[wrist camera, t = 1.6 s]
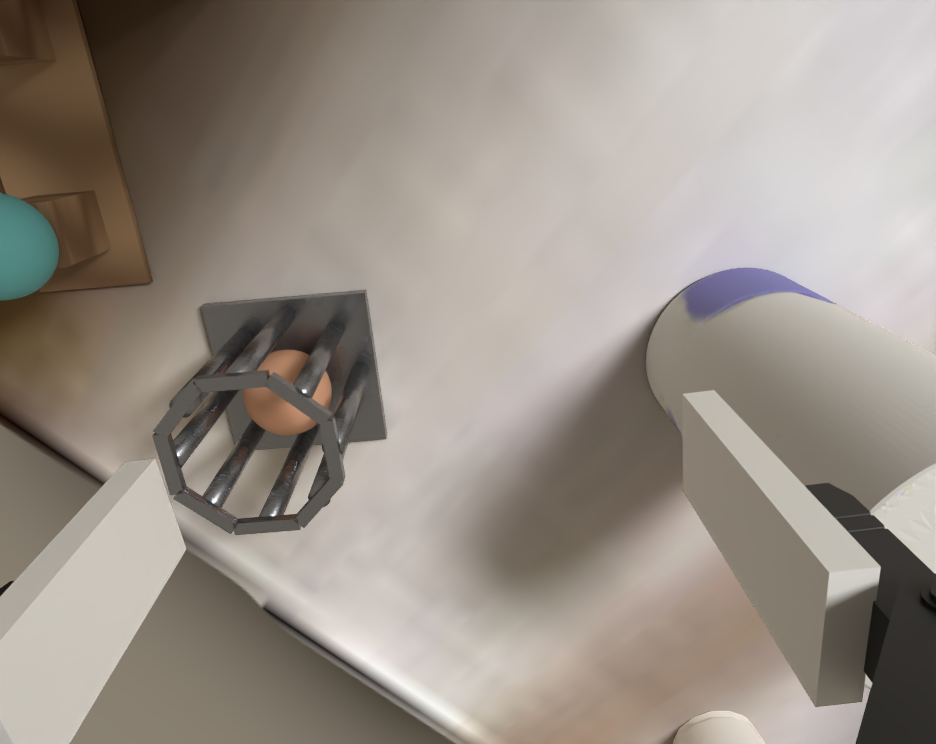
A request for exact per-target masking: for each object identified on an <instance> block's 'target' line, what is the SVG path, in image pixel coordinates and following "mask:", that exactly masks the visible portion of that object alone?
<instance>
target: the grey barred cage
mask: <svg viewBox="0 0 936 744" xmlns="http://www.w3.org/2000/svg"><path fill="white" fill-rule="evenodd" d="M201 310H202V314H203V318H204V322H205V326H206V330H207V334H208V338H209V342H210V346H211V350H212V355H213V357H212V358H211V359H210V360H209V361H208V362H207V363H206V364H205V365H204V366H203V367H202V368H201V369H200V370H199V371H198V372H197V374H196V375H195V376H194V377H193V378H192V379H191V380H190V381H189V382H188V383H187V384H186V385H185V386H184V387H183V388H182V389H181V390H180V391H179V392H178V393H177V394H176V395H175V396H174V398H173V399H172V400H171V401H170V404H169V407H170V409H169V411H168V412H167V413H166V415H165V416H164V417H163V419H162V420H161V421H160V423H159V424H158V426H157V427H156V428H155V430H154V431H153V432H155V433H154V434H153V439H154V442H155V446H156V449H157V452H158V456H159V459H160V462H161V466H162V469H163V472H164V476H165V479H166V482H167V486H168V489H169V492H170V495H175V497H174V498H173V499H175V500H176V501H178V502H180V503H181V504H183V505H184V506H186V507H188V508H189V509H191V510H193V511H194V512H196V513H197V514H199V515H201V516H202V517H204V518H206V519H207V520H209V521H210V522H212V523H214V524H215V525H217V526H219V527H220V528H222V529H223V530H225V531H227V532H228V533H230V534H231V533H232V532H233V531H234V532H235V535H242V534H255V533H267V532H279V531H292V530H300V528H301V526H302V527H303V528H304V527H305V526H306V525H307V524H308V523H309V522H310V521H311V520H312V518H313V517H314V516H315V515H316V514H317V513H318V512H319V511H320V510H321V508H322V507H325V506H327V505H328V504H329V502H330V499H331V497H332V496H333V495H334V494H335V493H336V492H337V491H338V489H339V488H340V487H341V486H342V485H343V482H344V479H345V472H344V466H343V458H344V455H345V451H346V448H347V445H348V442H356V441H369V440H381V439H386V438H387V429H386V423H385V416H384V409H383V402H382V395H381V388H380V381H379V374H378V368H377V361H376V354H375V347H374V340H373V333H372V326H371V320H370V313H369V306H368V299H367V292H366V290H361V291H349V292H337V293H325V294H314V295H302V296H290V297H279V298H267V299H255V300H244V301H232V302H220V303H208V304H204V305H203V306H201ZM279 350H297V351H301V352H304V353H306V354H308V355H309V357H308V359H307V361H306V362H305V364H304V366H303V368H302V369H301V371H300V373H299V375H298V376H297V378H296V380H295V381H294V383H293V385H292V384H291V383H290V382H288V381H287V380H285V379H284V378H282V377H281V376H280V375H278V374H277V373H275V372H273V373H272V374H271V375H270V374H269V370H263V371H257V370H258V368H259V367H260V365H261V364H262V363H263V361H264V360H265V359H266V357H267V356H268V355H269V353H272V352H275V351H279ZM325 370H326V372H327V374H328V376H329V379H330V382H331V388H332V397H331V402H330V405H329V408H328V409H326V408H325V407H324V406H322V405H321V404H319V403H318V402H316V401H315V400H314V399H312V397H313V395H314V393H315V391H316V389H317V387H318V385H319V383H320V381H321V379H322V376H323V374H324V372H325ZM261 387H266V388H268V389H269V390H271V391H272V392H274V393H275V394H277V395H278V396H279V397H281V398H282V399H284V400H285V401H287V402H288V403H289V404H291V405H292V406H294V407H295V408H297V409H298V410H300V411H301V412H302V413H304V414H305V415H307V416H308V417H310V418H311V419H312V420H314V421H315V422H317V423H318V424H316V425H315V426H314V427H313V428H311V429H309V430H307V431H305V432H303V433H299V434H295V435H279V434H274V433H271V432H269V431H267V430H265V429H263V428H262V427H260V426H259V425H258V424H257V423H256V422H254V420H253V419H252V418H251V417H250V415H249V413H248V412H247V409H246V407H245V404H244V399H243V389H249V388H261ZM213 391H215V392H214V393H213V394H212V395H211V396H210V398H209V399H208V400H207V401H206V402H205V404H204V405H203V406H202V407H201V408H200V410H199V411H198V412H197V413H196V414H195V416H194V417H193V418H192V419H191V420H190V422H189V423H188V424H187V425H186V426H185V428H184V429H183V430H182V431H181V432H180V433H179V435H178V436H177V437H176V438H175V439H174V441H173V438H172V435H171V432H172V431H173V429H174V428H175V427H176V425H177V424H178V423H179V421H180V420H181V419H182V417H188V416H190V415H191V414H192V413H193V411H194V410H195V409H196V408H197V407H198V405H199V404H200V403H201V402H202V401H203V400H204V398H205V397H206V396H207V395H208V394H209V393H210V392H213ZM225 409H226V411H227V415H228V419H229V423H230V427H231V431H232V435H233V439H234V443H235V447H234V448H233V450H232V451H231V453H230V454H229V456H228V457H227V459H226V461H225V462H224V464H223V465H222V467H221V468H220V470H219V471H218V473H217V475H216V476H215V478H214V479H213V481H212V482H211V484H210V486H209V487H208V489H207V490H206V492H205V493H204V495H203V496H201V495H199V494H197V493H196V492H194V491H193V490H191V489H190V488H188V487H186V484H185V480H184V477H183V473H182V470H181V467H182V466H183V465H184V463H185V462H186V461H187V459H188V458H189V457H190V455H191V454H192V453H193V451H194V450H195V449H196V448H197V446H198V445H199V444H200V442H201V441H202V440H203V438H204V437H205V436H206V434H207V433H208V432H209V430H210V429H211V428H212V426H213V425H214V424H215V422H216V421H217V420H218V418H219V417H220V416H221V414H222V413H223V412H224V410H225ZM320 444H322V450H323V452H324V455H323V458H322V461H321V463H320V466H319V469H318V471H317V474H316V477H315V479H314V482H313V485H312V487H311V490H310V493H309V496H308V499H309V501H308V502H307V503H306V504H305V505H304V506H303V508H302V509H301V510H300V511H299V512H298V513H297V514H291V515H284V512H285V510H286V507H287V505H288V503H289V500H290V498H291V495H292V493H293V491H294V488H295V486H296V483H297V481H298V479H299V476H300V474H301V471H302V469H303V467H304V464H305V462H306V459H307V457H308V455H309V452H310V450H311V447H312V445H320ZM284 447H292V448H291V450H290V452H289V454H288V456H287V458H286V461H285V463H284V465H283V467H282V469H281V471H280V473H279V475H278V477H277V480H276V482H275V484H274V486H273V488H272V490H271V492H270V494H269V496H268V499H267V501H266V503H265V505H264V507H263V509H262V511H261V513H260V515H259V517H254V518H242V519H237V518H236V517H234V516H233V515H231V514H229V513H228V512H226V511H225V510H223V509H221V508H222V506H223V504H224V503H225V501H226V499H227V497H228V496H229V494H230V492H231V490H232V489H233V487H234V485H235V483H236V482H237V480H238V478H239V477H240V475H241V473H242V471H243V470H244V468H245V466H246V464H247V463H248V461H249V459H250V457H251V456H252V454H253V452H254V451H255V450H259V449H272V448H284Z"/></svg>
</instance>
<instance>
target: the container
mask: <svg viewBox="0 0 936 744" xmlns="http://www.w3.org/2000/svg"><path fill="white" fill-rule="evenodd" d="M646 371H647V377H648V381H649V384H650V387H651V390H652V392H653V394H654V396H655V397H656V399H657V400H658V402H659V403H660V405H661V406H662V408H663V409H664V411H665V412H666V413H667V415H668V416H669V418H670V419H671V421H672V422H673V424H674V425H675V427H676V428H677V429H678V431H679V432H680V434H681V435H682V437H683V394H686V393H694V392H702V391H710V390H715V392H716V393H717V394H718V395H719V396H720V397H721V398H722V399H723V400H724V401H725V402H726V403H727V404H728V405H729V406H730V407H731V408H732V410H733V411H734V412H735V413H736V414H737V415H738V416H739V417H740V418H741V419H742V420H743V421H744V422H745V423H746V424H747V425H748V427H749V428H750V429H751V430H752V431H753V432H754V433H755V434H756V435H757V436H758V437H759V438H760V439H761V440H762V441H763V442H764V443H765V445H766V446H767V447H768V448H769V449H770V450H771V451H772V452H773V453H774V454H775V455H776V456H777V457H778V458H779V459H780V460H781V461H782V463H783V464H784V465H785V466H786V467H787V468H788V469H789V470H790V471H791V472H792V473H793V474H794V475H795V476H796V477H797V478H798V479H799V481H800V482H801V483H802V484H803V485H804V486H805V485H813V484H821V483H830V484H832V485H834V486H836V487H837V488H839V489H841V490H843V491H845V492H847V493H849V494H851V495H853V496H854V497H855V498H856V499H857V500H858V501H859V502H860V503H862V504H863V505H864V506H865V507H866V508H867V509H868V510H869V511H870V514H871V515H874V516H875V517H876V518H877V519H878V520H879V521H880V522H881V523H882V524H883V525H884V527H885V529H889V530H890V531H891V532H892V533H893V534H894V535H895V536H896V537H897V538H898V539H899V540H900V541H901V542H902V543H903V544H904V545H905V546H907V547H908V548H909V549H910V550H911V551H912V552H913V553H914V554H915V555H916V556H917V557H918V558H919V559H920V560H921V561H922V562H923V563H924V564H925V565H926V566H927V567H928V568H930V569H931V570H932V571H933V572H934V573H935V574H936V355H934V354H932V353H930V352H928V351H926V350H924V349H922V348H920V347H919V346H917V345H915V344H913V343H911V342H909V341H907V340H905V339H903V338H901V337H899V336H897V335H895V334H894V333H892V332H890V331H888V330H886V329H884V328H882V327H880V326H878V325H876V324H874V323H872V322H870V321H868V320H867V319H865V318H863V317H861V316H859V315H857V314H855V313H853V312H851V311H849V310H847V309H845V308H843V307H842V306H840V305H838V304H836V303H833V302H831V301H830V300H828V299H826V298H824V297H822V296H820V295H818V294H817V293H815V292H813V291H811V290H809V289H807V288H805V287H803V286H801V285H799V284H797V283H795V282H793V281H792V280H790V279H788V278H786V277H784V276H782V275H780V274H777V273H775V272H771V271H768V270H763V269H757V268H737V269H730V270H725V271H721V272H718V273H715V274H712V275H709V276H707V277H705V278H703V279H701V280H699V281H697V282H695V283H694V284H692V285H691V286H689V287H688V288H686V289H685V290H684V291H682V292H681V293H680V294H679V295H678V296H677V297H676V298H675V299H674V300H673V301H672V302H671V303H670V304H669V305H668V306H667V307H666V309H665V310H664V311H663V313H662V314H661V316H660V317H659V319H658V321H657V322H656V324H655V326H654V328H653V331H652V333H651V336H650V339H649V342H648V347H647V353H646ZM864 686H865V687H867V688H869V689H871V686H872V682H871V681H870V679H869V678H868V676H867V675H866V676H865V684H864Z"/></svg>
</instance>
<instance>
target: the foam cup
mask: <svg viewBox="0 0 936 744" xmlns="http://www.w3.org/2000/svg"><path fill="white" fill-rule="evenodd" d="M673 744H765V742H764V740H763V739H762V737H761V736H760V734H759V733H758V732H757V731H756V729H755V727H754V726H753V725H752V724H751V723H750V721H749V720H748V719H747V718H746V717H745V716H743V715H740V714H737V713H734V712H731V711H709V712H707V713H704V714H701V715H698V716H695V717H693V718H691V719H690V720H689V721H688V722H686V723H685V724H684V725H683V726H681V727H680V728H679V730H678V732H677V734H676V736H675V738H674V740H673Z"/></svg>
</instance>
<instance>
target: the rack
mask: <svg viewBox="0 0 936 744" xmlns="http://www.w3.org/2000/svg"><path fill="white" fill-rule="evenodd" d="M0 178H1V181H2V184H3V187H4V189H5V192H6V194H7V195H11V196H13V197H16V198H19V199H21V200H23V201H25V202H27V203H28V204H30V205H31V206H33V207H34V208H35V209H37V210H38V211H39V212H40V213H41V214H42V215H43V216H44V217H45V218H46V219H47V220H48V222H49V223H50V225H51V226H52V228H53V230H54V232H55V234H56V237H57V240H58V245H59V258H58V264H57V267H56V269H55V271H54V273H53V275H52V276H51V278H50V279H49V280H48V281H47V282H46V283H45V284H44V285H43V286H42V287H41V288H40V289H39V292H52V291H64V290H75V289H87V288H99V287H110V286H122V285H134V284H145V283H151V282H152V281H153V280H152V277H151V273H150V269H149V266H148V262H147V258H146V255H145V251H144V247H143V244H142V240H141V236H140V233H139V229H138V225H137V222H136V218H135V214H134V211H133V207H132V203H131V200H130V196H129V192H128V189H127V185H126V181H125V178H124V174H123V170H122V167H121V163H120V159H119V156H118V152H117V148H116V145H115V141H114V137H113V134H112V130H111V126H110V122H109V119H108V115H107V111H106V108H105V104H104V100H103V97H102V93H101V89H100V86H99V82H98V78H97V75H96V71H95V67H94V64H93V60H92V56H91V53H90V49H89V45H88V42H87V38H86V34H85V31H84V27H83V23H82V20H81V16H80V12H79V9H78V5H77V1H76V0H0Z"/></svg>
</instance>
